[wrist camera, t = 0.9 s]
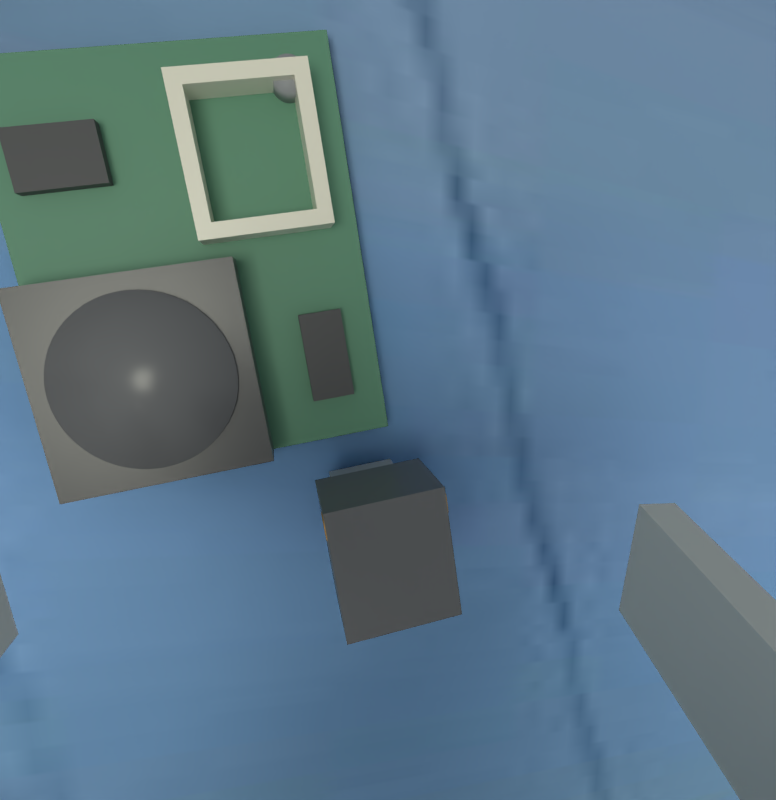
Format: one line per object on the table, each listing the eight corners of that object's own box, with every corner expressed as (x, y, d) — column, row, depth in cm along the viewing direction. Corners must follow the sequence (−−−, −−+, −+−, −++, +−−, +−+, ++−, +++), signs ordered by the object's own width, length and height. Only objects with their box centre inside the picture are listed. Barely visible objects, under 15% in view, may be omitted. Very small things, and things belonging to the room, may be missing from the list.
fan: (273, 448, 32) (273, 462, 30) (76, 488, 31) (57, 505, 28) (235, 259, 30) (231, 255, 27) (19, 289, 28) (-7, 289, 26)
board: (384, 421, 35) (393, 432, 32) (83, 481, 32) (66, 498, 29) (324, 40, 30) (329, 14, 27) (-34, 67, 27) (-68, 41, 24)
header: (330, 227, 31) (334, 222, 29) (203, 244, 30) (198, 240, 28) (305, 73, 29) (307, 55, 27) (169, 85, 28) (160, 67, 26)
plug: (418, 539, 37) (462, 613, 28) (328, 561, 36) (346, 644, 27) (403, 440, 35) (445, 486, 27) (309, 460, 34) (321, 514, 26)
